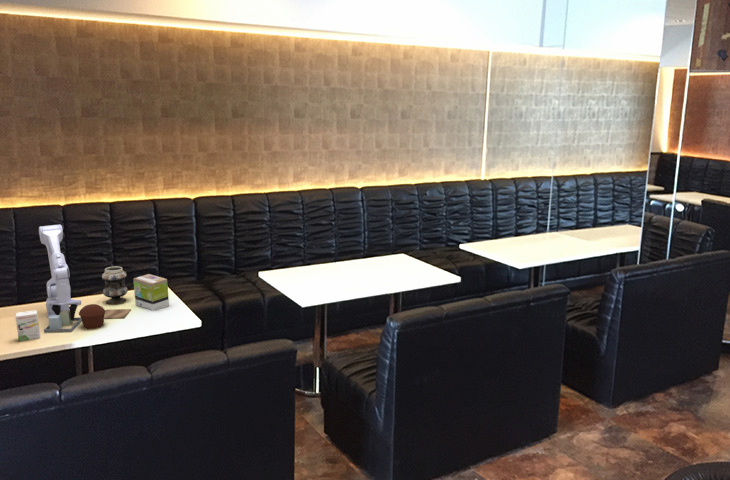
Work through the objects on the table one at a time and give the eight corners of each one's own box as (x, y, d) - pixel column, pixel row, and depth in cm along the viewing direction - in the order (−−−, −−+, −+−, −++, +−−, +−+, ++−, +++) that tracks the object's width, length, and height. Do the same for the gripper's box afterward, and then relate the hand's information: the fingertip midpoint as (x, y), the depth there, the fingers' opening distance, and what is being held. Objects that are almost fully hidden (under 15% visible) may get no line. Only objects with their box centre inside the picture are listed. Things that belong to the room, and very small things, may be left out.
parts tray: (44, 332, 288) (43, 329, 288) (56, 321, 303) (56, 318, 303) (71, 331, 289) (71, 328, 289) (82, 320, 304) (82, 317, 304)
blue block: (49, 330, 291) (48, 318, 290) (53, 327, 295) (51, 315, 293) (58, 330, 291) (57, 318, 290) (62, 327, 295) (60, 315, 294)
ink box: (18, 341, 278) (15, 316, 275) (18, 337, 282) (15, 312, 280) (40, 338, 282) (37, 313, 279) (39, 334, 286) (36, 309, 284)
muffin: (111, 322, 301) (110, 302, 299) (97, 331, 291) (95, 310, 289) (89, 320, 304) (87, 300, 301) (74, 328, 293) (72, 308, 291)
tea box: (134, 305, 325) (132, 277, 322) (151, 300, 333) (149, 273, 330) (153, 311, 317) (151, 282, 313) (169, 306, 325) (167, 278, 321)
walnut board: (98, 319, 306) (98, 318, 305) (106, 310, 317) (106, 309, 317) (124, 318, 307) (124, 317, 307) (131, 310, 318) (130, 308, 318)
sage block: (60, 325, 298) (59, 313, 296) (63, 322, 301) (62, 310, 300) (69, 325, 298) (68, 312, 296) (72, 322, 302) (71, 309, 300)
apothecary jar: (133, 299, 334) (131, 266, 330) (116, 306, 323) (113, 272, 319) (116, 296, 339) (113, 264, 335) (98, 303, 328) (95, 269, 324)
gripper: (43, 295, 292) (46, 323, 295) (76, 294, 293) (79, 322, 296) (49, 290, 298) (52, 318, 301) (81, 289, 300) (84, 317, 303)
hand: (66, 319), depth 299 cm, fingers open, 5 cm apart
